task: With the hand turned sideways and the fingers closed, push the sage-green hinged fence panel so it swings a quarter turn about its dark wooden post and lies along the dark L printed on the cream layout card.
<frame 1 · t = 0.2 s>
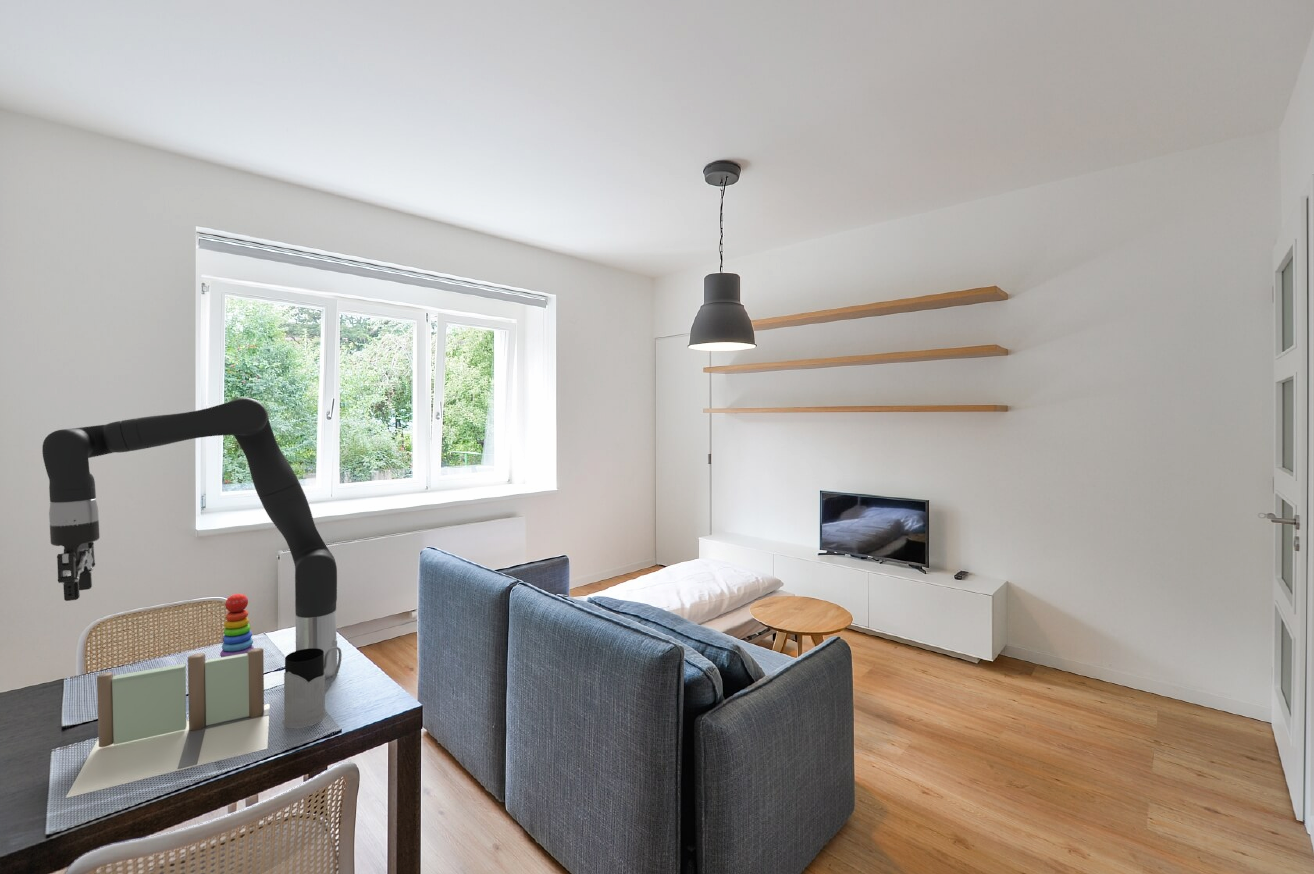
hand: (78, 594, 127), 29 cm above the table, fingers open, 8 cm apart
fence panel: (143, 702, 122), point 8 cm above the table, hinge at 0.0°
grey and black mug: (315, 714, 135), on the table
stacking toy: (237, 662, 160), on the table
layout card: (181, 745, 121), on the table
fixed fence: (197, 727, 127), resting on layout card
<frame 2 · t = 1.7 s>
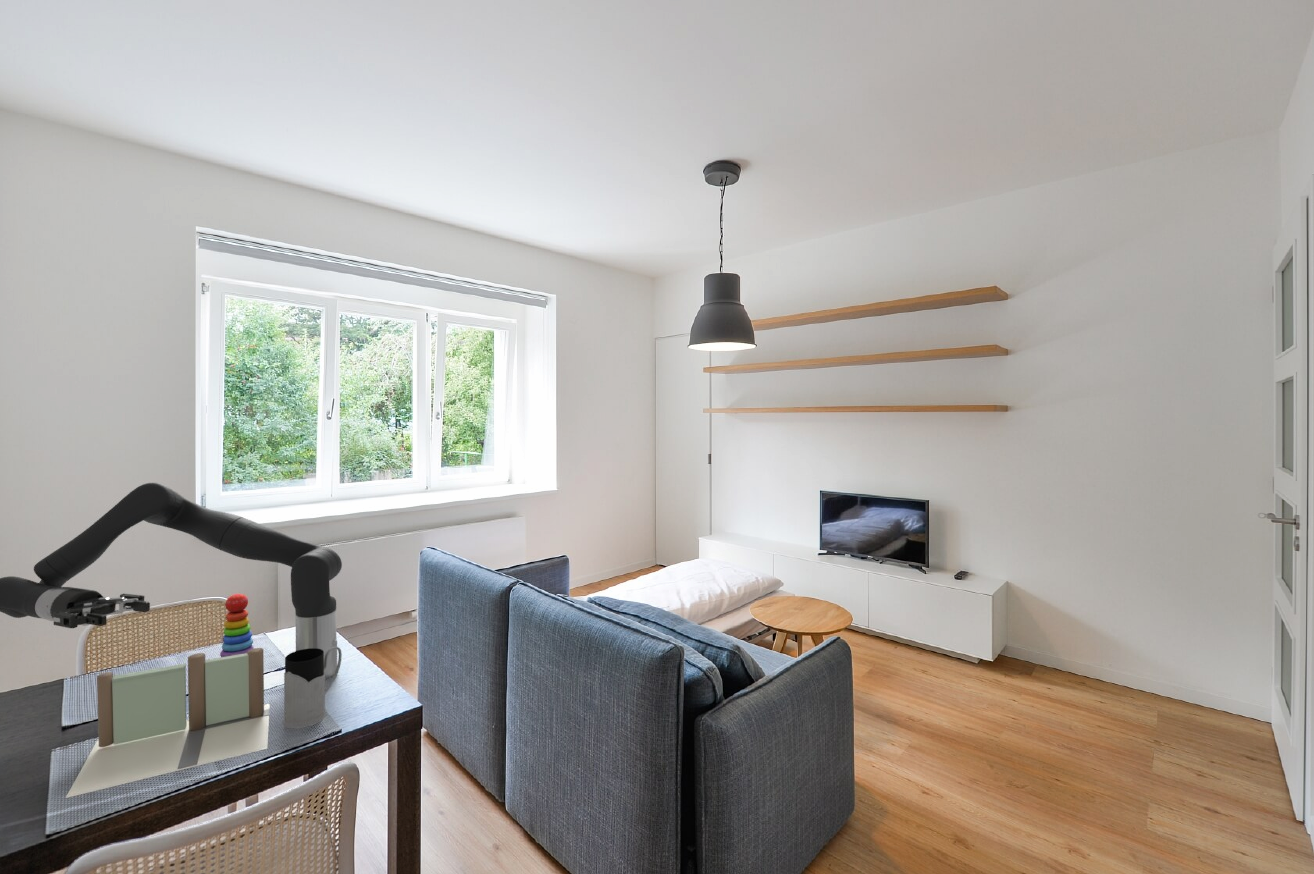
hand: (127, 613, 126), 25 cm above the table, fingers open, 8 cm apart
nothing on the table moved.
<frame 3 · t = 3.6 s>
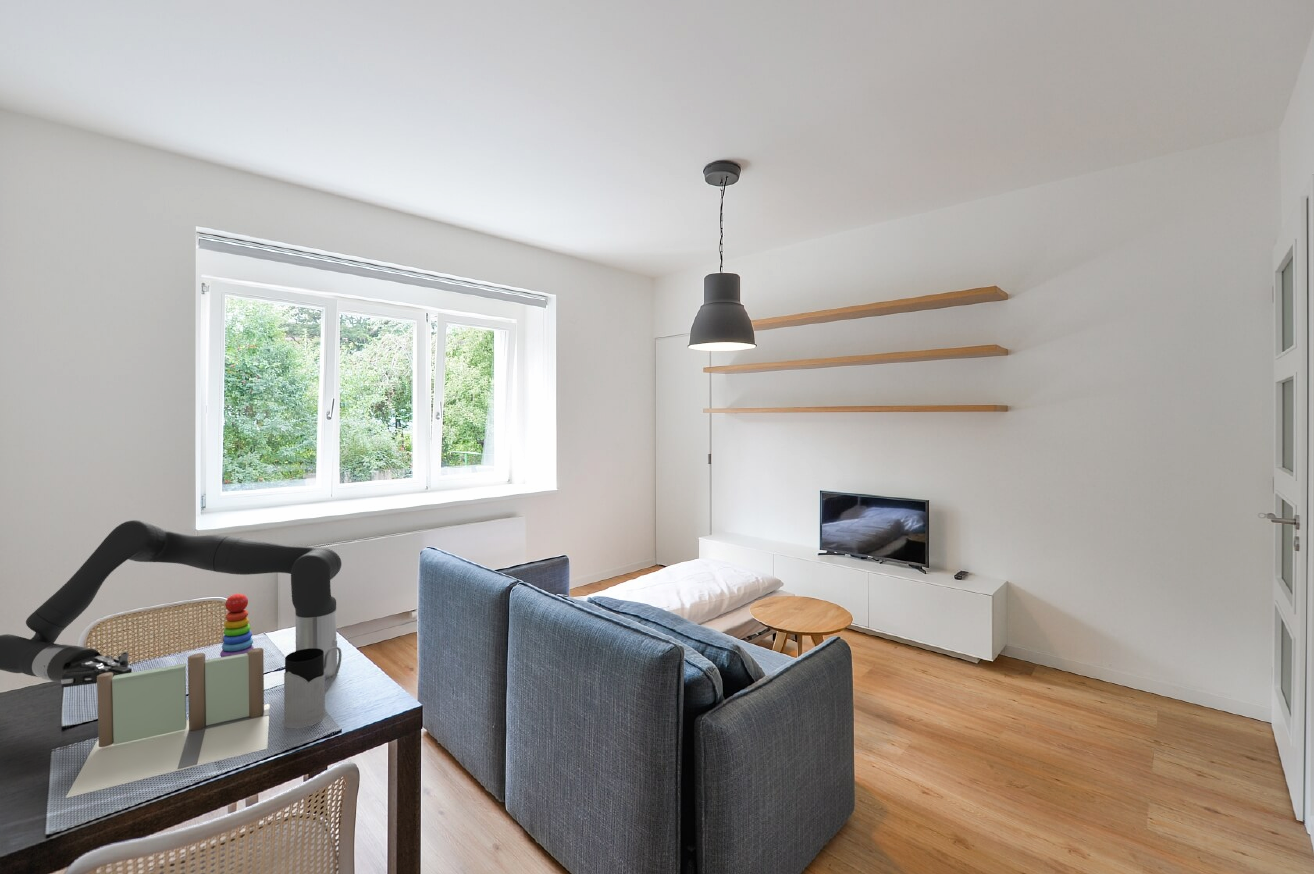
hand: (127, 674, 124), 13 cm above the table, fingers closed
nothing on the table moved.
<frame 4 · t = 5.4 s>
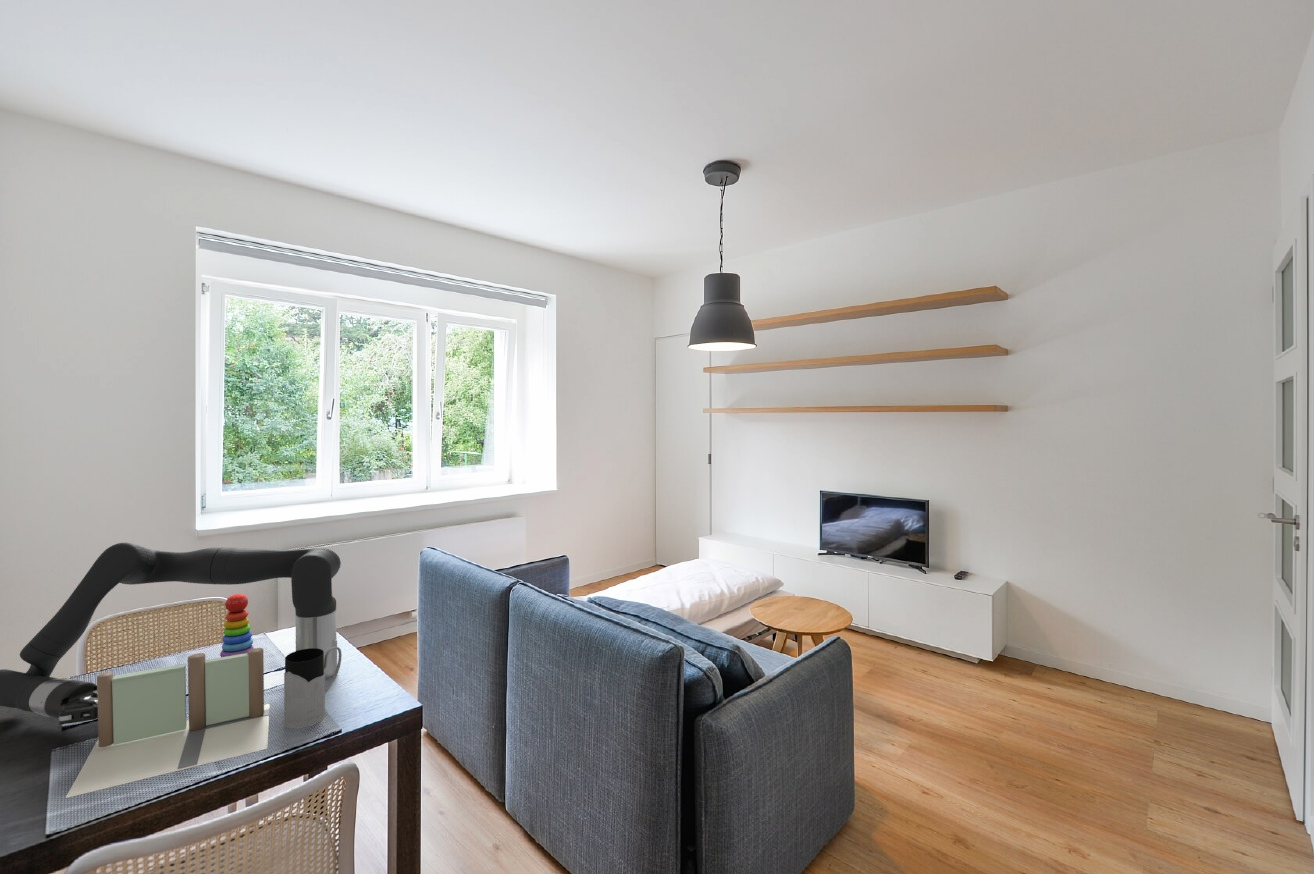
hand: (127, 709, 121), 7 cm above the table, fingers closed
fence panel: (143, 702, 122), point 8 cm above the table, hinge at 0.2°, touching gripper
everything else where it was.
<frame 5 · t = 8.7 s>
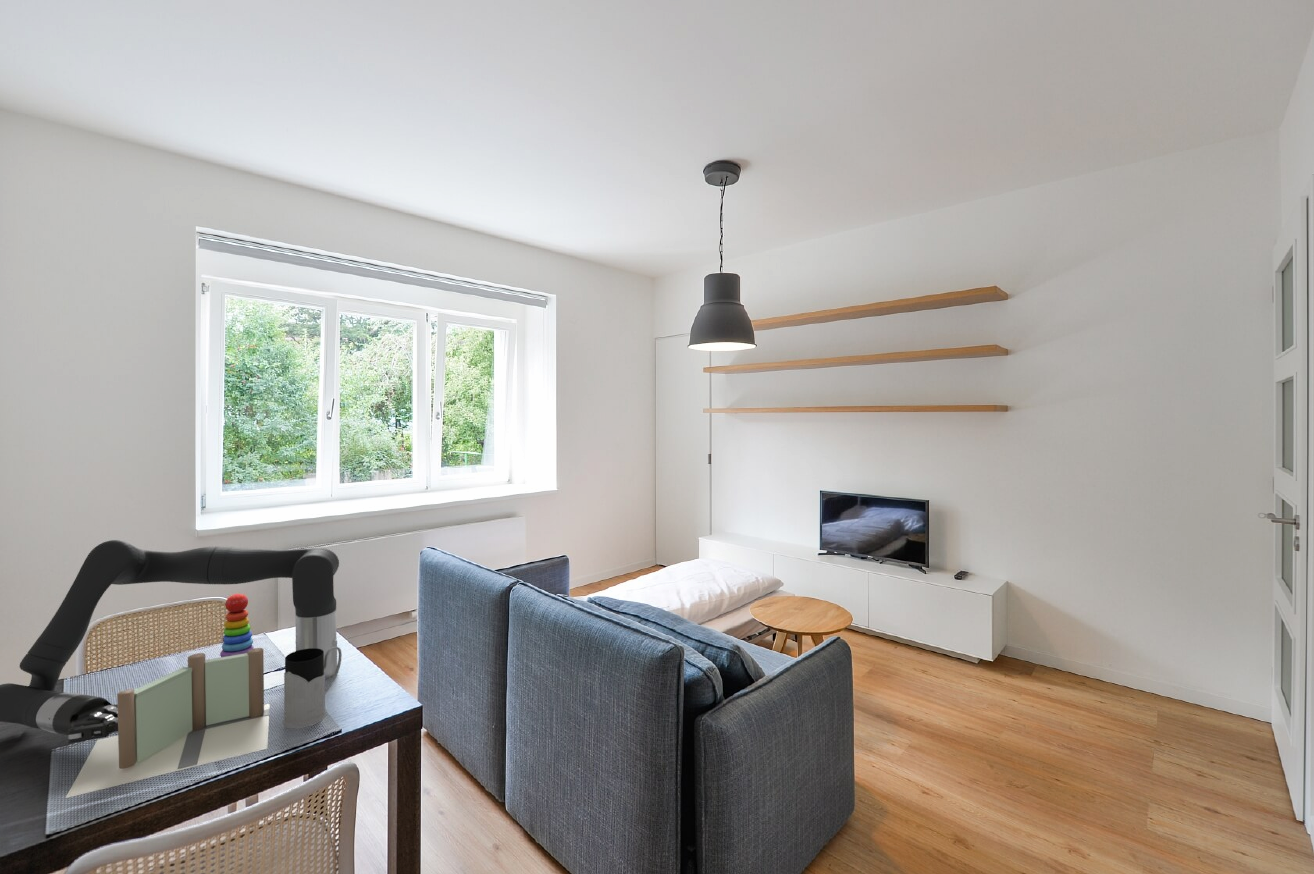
hand: (139, 726, 115), 7 cm above the table, fingers closed
fence panel: (156, 713, 118), point 8 cm above the table, hinge at 49.3°, touching gripper
everything else where it was.
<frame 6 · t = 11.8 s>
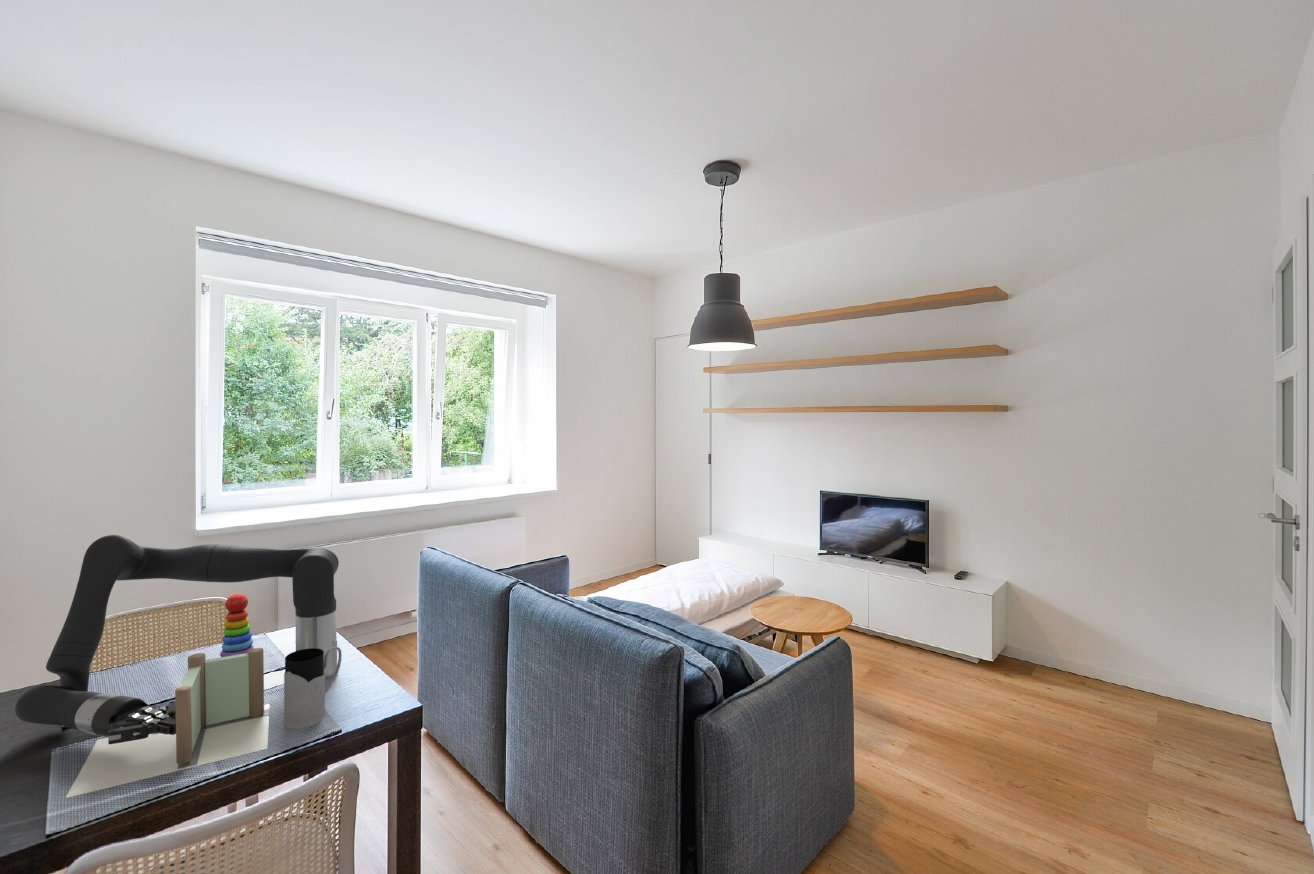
hand: (178, 727, 115), 7 cm above the table, fingers closed
fence panel: (189, 711, 119), point 8 cm above the table, hinge at 87.7°, touching gripper
everything else where it was.
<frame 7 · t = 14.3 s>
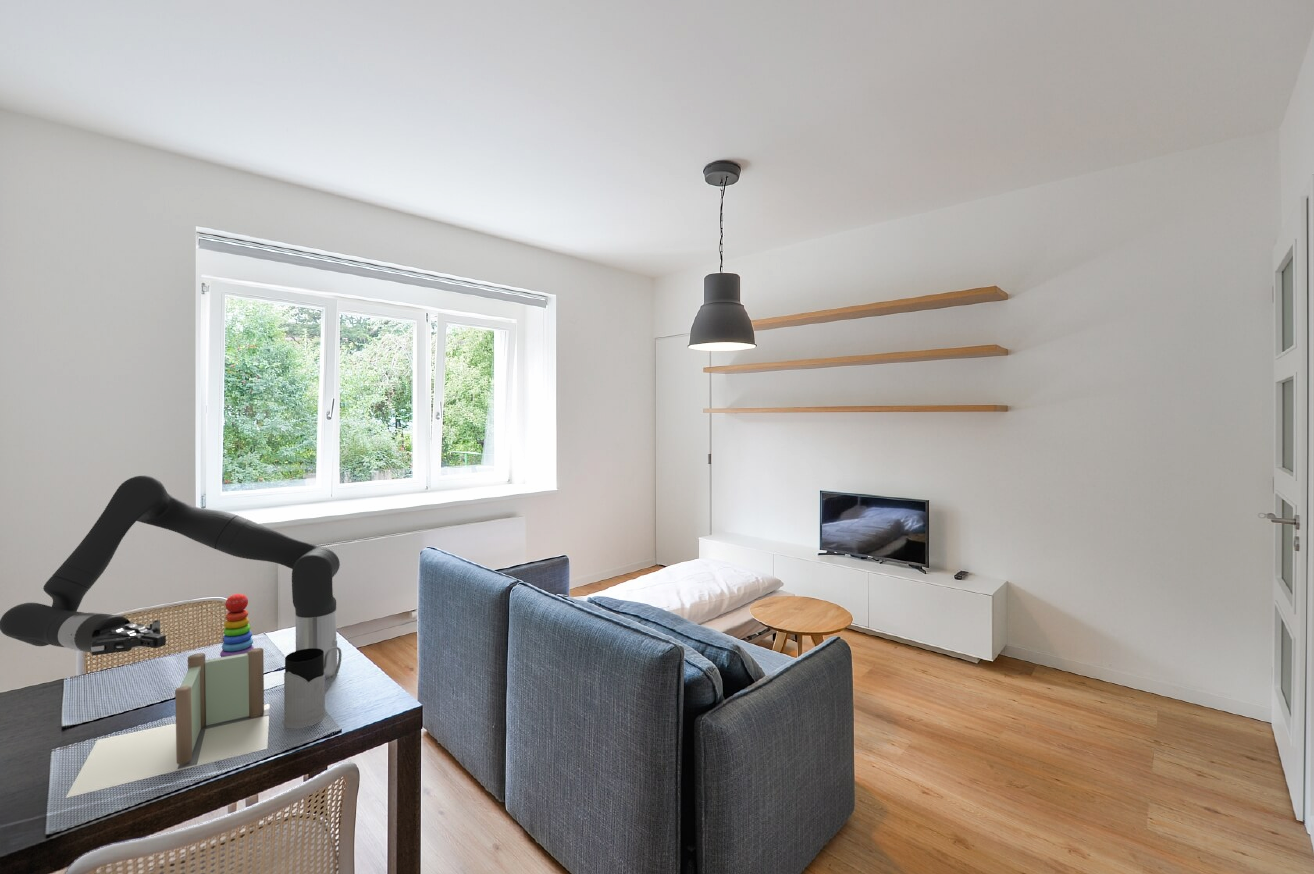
hand: (161, 641, 115), 24 cm above the table, fingers closed
fence panel: (189, 711, 119), point 8 cm above the table, hinge at 87.8°
everything else where it was.
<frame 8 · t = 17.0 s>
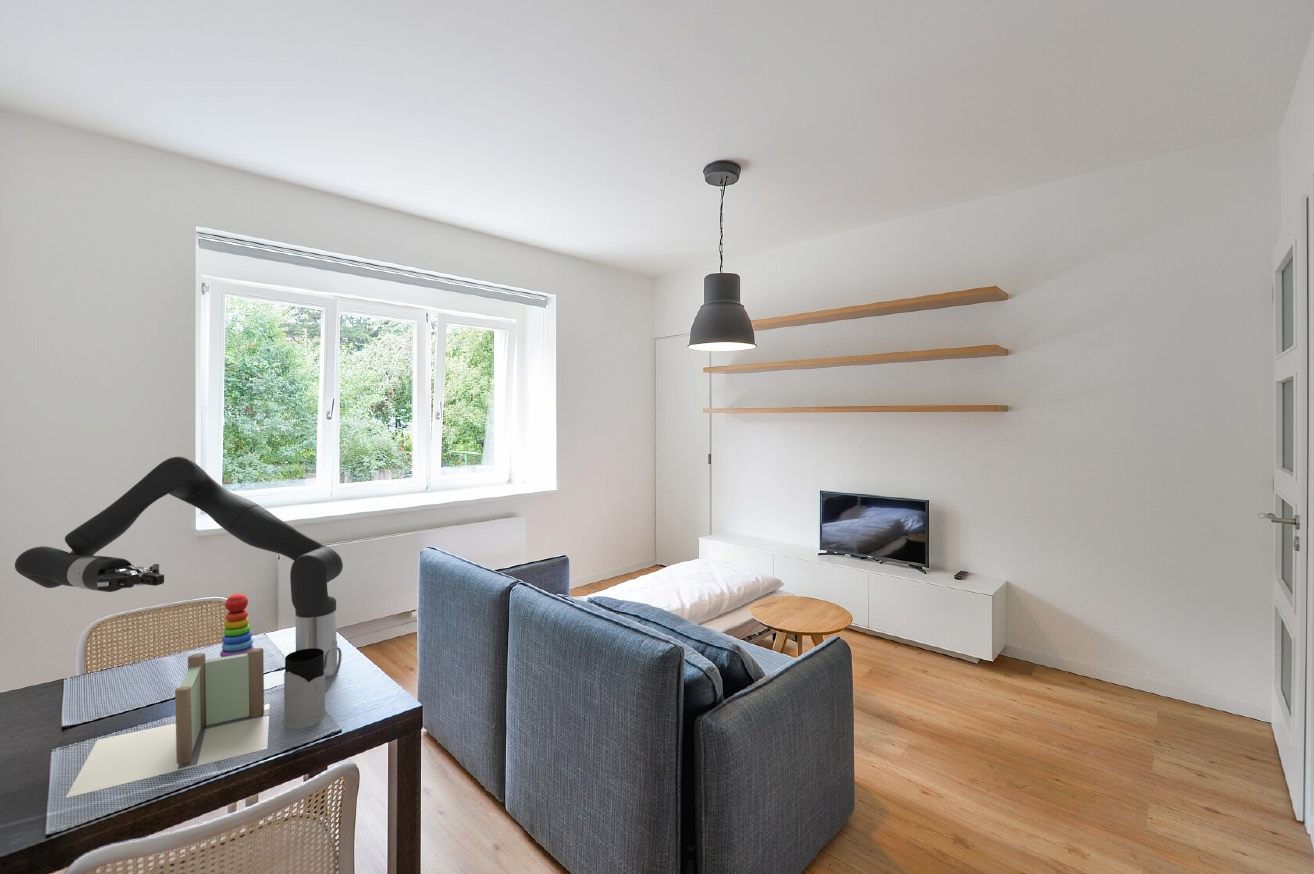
hand: (160, 579, 128), 32 cm above the table, fingers closed
nothing on the table moved.
at the end: fence panel at +88° (first picture: +0°) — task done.
